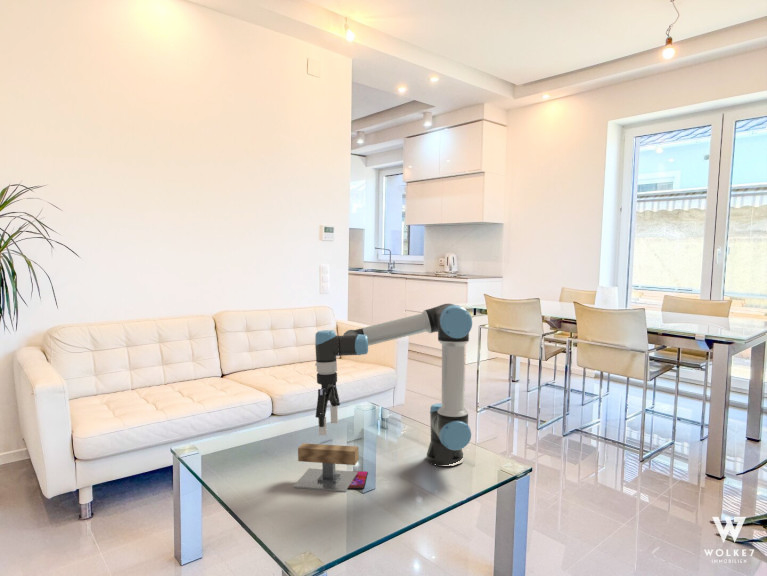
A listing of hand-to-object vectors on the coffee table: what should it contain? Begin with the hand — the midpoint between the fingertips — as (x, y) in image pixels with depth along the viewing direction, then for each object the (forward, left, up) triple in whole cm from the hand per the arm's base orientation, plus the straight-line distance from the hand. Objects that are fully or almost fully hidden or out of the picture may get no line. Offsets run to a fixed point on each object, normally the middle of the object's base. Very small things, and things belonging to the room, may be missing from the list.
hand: (328, 428), depth 180 cm
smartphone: (-10, -2, -20) cm, 22 cm away
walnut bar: (0, 0, -12) cm, 12 cm away
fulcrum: (0, 0, -20) cm, 20 cm away
